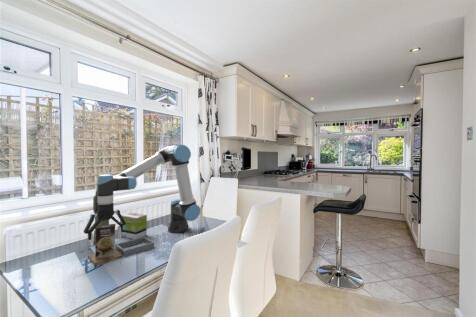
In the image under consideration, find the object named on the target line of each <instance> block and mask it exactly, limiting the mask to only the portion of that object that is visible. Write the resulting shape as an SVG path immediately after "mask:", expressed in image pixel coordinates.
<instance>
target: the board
mask: <svg viewBox="0 0 476 317" xmlns="http://www.w3.org/2000/svg"><path fill="white" fill-rule="evenodd" d="M122 258H123V255H122V254H120V253H119V252H118V251H117V250H115V255H114V256H110V257H104V258H98V259H95V253H92V254H87V259H88V260H89V259H90V260H89V262H91V263H92V264H93V265H94V266H96V267H97V266H98V265H101V264H105V263H109V262H111V261H114V260H118V259H122Z"/></svg>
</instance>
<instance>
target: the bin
mask: <svg viewBox="0 0 476 317" xmlns="http://www.w3.org/2000/svg"><path fill="white" fill-rule="evenodd" d="M141 243H145V244H142V245H138V244H141ZM134 245H138V246H135V247H131V246H134ZM127 247H131V248H127ZM125 248H127V249H125ZM153 248H155V241H153V240H152V239H151V240H150V239H149V238H147V237H146V236H143V237H141V238H138V239H130V240H127V241H123V242H118V243H115V249H116V251H118V252H119V253H120V254H121V255H122V257H127V256H129V255H133V254H136V253H139V252H143V251H146V250H150V249H153Z"/></svg>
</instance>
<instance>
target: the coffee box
mask: <svg viewBox="0 0 476 317" xmlns="http://www.w3.org/2000/svg"><path fill="white" fill-rule="evenodd" d="M115 244H116V223H109V224H108V225H98V226H97V227H96V243H95V252H94V254H95V259H98V258H104V257H110V256H114V255H115Z"/></svg>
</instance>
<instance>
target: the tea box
mask: <svg viewBox="0 0 476 317" xmlns="http://www.w3.org/2000/svg"><path fill="white" fill-rule="evenodd" d="M121 216H122V217H123V219H124V221H125V222H126V225H124V226H123V232H121V238H123V237H124V238H127V239H130V240H134V239H138V238H141V237H146V236H147V230H148V229H147V222H148V220H147V218H148V215H147V214H143V213H136V212H130V213H125V214H121ZM119 222H120V223H122V222H121V220H120V219H119Z"/></svg>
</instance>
